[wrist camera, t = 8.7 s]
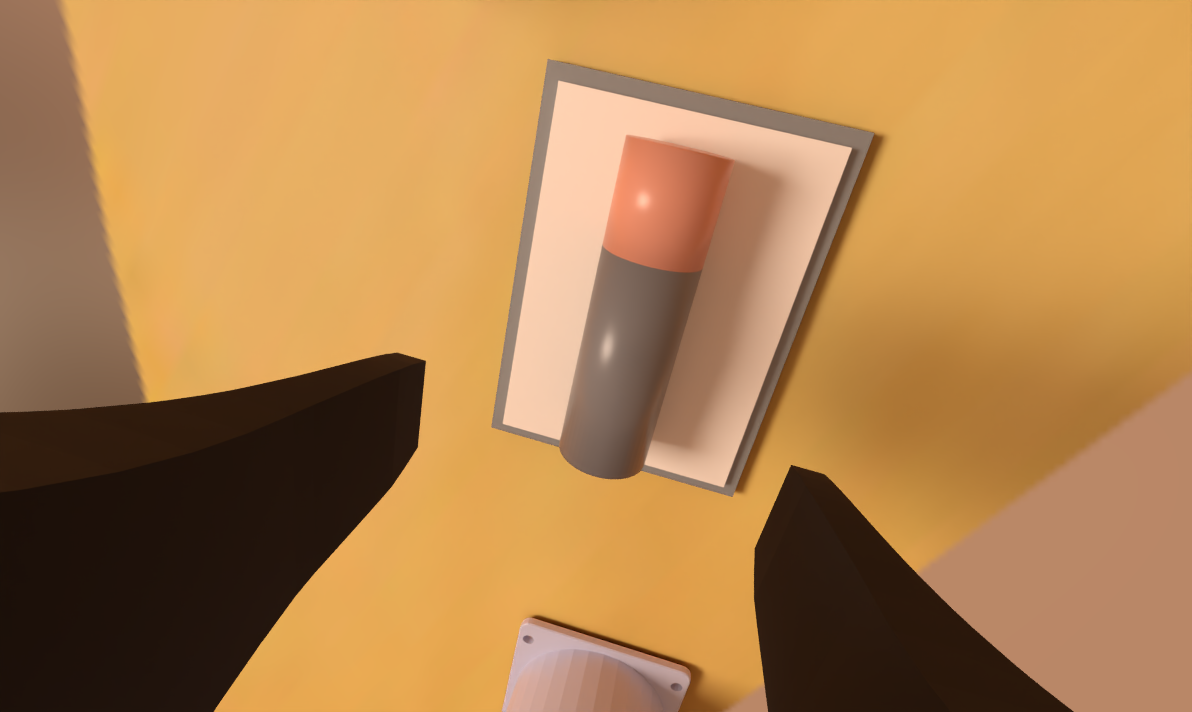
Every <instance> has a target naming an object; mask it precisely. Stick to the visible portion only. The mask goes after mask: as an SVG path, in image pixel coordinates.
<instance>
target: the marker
mask: <svg viewBox="0 0 1192 712" xmlns="http://www.w3.org/2000/svg"><path fill="white" fill-rule="evenodd" d="M734 162H735V160H733V159H731V158H728V157H724V156H721V155H717V154H714V153H710V152H706V151H702V150H698V149H694V148H690V147H686V146H682V145H678V144H673V143H669V142H664V141H660V140H655V139H650V138H645V137H640V136H634V135H626V138H625V142H624V147H623V152H622V156H621V161H620V165H619V170H618V175H617V179H616V184H615V189H614V193H613V198H612V202H611V207H610V212H609V216H608V221H607V226H606V230H605V235H604V239H603V244H602V249H601V253H600V258H599V262H598V267H597V272H596V276H595V281H594V286H593V290H592V295H591V299H590V304H589V309H588V313H587V318H586V323H585V327H584V332H583V336H582V341H581V346H580V350H579V355H578V359H577V364H576V369H575V373H574V378H573V383H572V387H571V392H570V396H569V401H568V406H567V410H566V415H565V420H564V424H563V429H562V433H561V438H560V443H559V448H560V451H561V454H562V455H563V457H564V458H565V459H566V460H567V462H569V463H570V464H571V465H572V466H574V467H575V468H577V469H578V470H580V471H582V472H584V473H586V474H589V475H592V476H595V477H599V478H605V479H624V478H628V477H631V476H634V475H636V474H637V473H639V472H640V471H641V470H642V468H643V467H644V464H645V461H646V457H647V454H648V451H649V447H650V444H651V441H652V437H653V434H654V430H655V427H656V424H657V420H658V417H659V414H660V410H661V407H662V404H663V400H664V397H665V394H666V390H667V387H668V384H669V380H670V377H671V373H672V370H673V367H674V363H675V360H676V357H677V353H678V350H679V347H680V343H681V340H682V337H683V333H684V330H685V327H686V323H687V320H688V317H689V313H690V310H691V306H692V303H693V300H694V296H695V293H696V290H697V286H698V283H699V280H700V276H701V273H702V270H703V266H704V263H705V260H706V256H707V253H708V249H709V246H710V243H711V239H712V236H713V233H714V229H715V226H716V223H717V219H718V216H719V213H720V209H721V206H722V203H723V199H724V196H725V193H726V189H727V186H728V182H729V179H730V176H731V172H732V169H733V166H734Z"/></svg>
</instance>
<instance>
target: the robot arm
mask: <svg viewBox="0 0 1192 712" xmlns="http://www.w3.org/2000/svg"><path fill="white" fill-rule="evenodd" d="M425 364H426V361H424V360H421V359H417V358H414V357H410V356H407V355H403V354H400V353H391V354H385V355H380V356H375V357H371V358H366V359H362V360H358V361H354V362H350V363H346V364H343V365H339V366H335V367H331V368H327V369H323V370H319V371H315V372H311V373H307V374H303V375H299V376H295V377H291V378H286V379H281V380H277V381H272V382H268V383H263V384H259V385H254V386H250V387H245V388H241V389H236V390H230V391H225V392H219V393H213V394H208V395H201V396H195V397H188V398H181V399H174V400H167V401H159V402H151V403H141V404H129V405H118V406H107V407H96V408H84V409H72V410H54V411H33V412H7V413H6V412H2V413H0V712H214V710H215V709H216V707H217V706H218V704H219V703H220V701H221V700H222V698H223V697H224V695H225V694H226V693H227V691H228V690H229V688H230V687H231V685H232V684H233V682H234V681H235V680H236V678H237V677H238V675H239V674H240V672H241V671H242V670H243V668H244V667H245V665H246V664H247V662H248V661H249V660H250V658H251V657H252V655H253V654H254V652H255V651H256V649H257V648H258V647H259V645H260V644H261V642H262V641H263V640H264V638H265V637H266V636H267V634H268V633H269V632H270V630H271V629H272V627H273V626H274V625H275V623H276V622H277V621H278V619H279V618H280V617H281V615H282V614H283V612H284V611H285V610H286V608H287V607H288V606H289V604H290V603H291V602H292V600H293V599H294V597H295V596H296V595H297V594H298V592H299V591H300V590H301V589H302V588H303V586H304V585H305V584H306V583H307V582H308V580H309V579H310V578H311V577H312V576H313V574H314V573H315V572H316V571H317V570H318V569H319V568H320V567H321V565H322V564H323V563H324V562H325V561H326V560H327V559H328V558H329V557H330V555H331V554H332V553H333V552H334V551H335V550H336V549H337V548H338V547H339V545H340V544H341V543H342V542H343V541H344V540H345V539H346V538H347V536H348V535H349V534H350V533H351V532H352V531H353V530H354V529H355V528H356V527H357V525H358V524H359V523H360V522H361V521H362V520H363V519H364V518H365V516H366V515H367V514H368V513H369V512H370V511H371V510H372V509H373V507H374V506H375V505H376V504H377V503H378V502H379V501H380V500H381V498H382V497H383V496H384V495H385V494H386V493H387V491H388V490H389V489H390V488H391V487H392V485H393V484H394V482H395V481H396V480H397V478H398V477H399V475H400V474H401V472H402V471H403V469H404V468H405V466H406V465H407V463H408V462H409V460H410V459H411V457H412V455H413V454H414V452H415V451H416V449H417V448H418V438H419V428H420V417H421V407H422V396H423V385H424V375H425ZM754 602H755V611H756V619H757V628H758V636H759V644H760V652H761V660H762V667H763V675H764V683H765V691H766V698H767V706H768V712H1073V711H1072V710H1071V709H1069V708H1068V707H1067V706H1065V705H1064V704H1063V703H1062V702H1060V701H1059V700H1058V699H1057V698H1055V697H1054V696H1053V695H1051V694H1050V693H1049V692H1048V691H1046V690H1045V689H1044V688H1042V687H1041V686H1040V685H1039V684H1038V683H1036V682H1035V681H1034V680H1033V679H1031V678H1030V677H1029V676H1028V675H1027V674H1025V673H1024V672H1023V671H1022V670H1021V669H1019V668H1018V667H1017V666H1016V665H1014V664H1013V663H1012V662H1011V661H1010V660H1009V659H1007V658H1006V657H1005V656H1004V655H1003V654H1002V653H1001V652H1000V651H998V650H997V649H996V648H995V647H994V646H993V645H992V644H990V643H989V642H988V641H987V640H986V639H985V638H983V636H981V635H980V634H979V633H978V632H977V631H976V630H975V629H973V628H972V627H971V626H970V625H969V624H968V623H967V622H966V621H965V620H964V619H963V618H961V617H960V616H959V615H958V614H957V613H956V612H955V611H954V610H953V609H952V608H951V607H950V606H949V605H948V604H947V603H946V602H945V601H944V600H943V599H941V597H940V596H939V595H938V594H937V593H935V591H934V590H933V589H932V588H931V587H930V586H929V585H928V584H927V583H926V582H924V581H923V579H922V578H921V577H920V576H919V575H918V574H917V573H916V572H915V571H914V570H913V569H912V568H911V567H910V566H909V565H908V564H907V563H906V562H905V561H904V560H903V559H902V558H901V556H900V555H899V554H898V553H897V552H896V551H895V550H894V549H893V548H892V547H891V546H890V545H889V544H888V542H887V541H886V540H885V539H884V538H883V537H882V536H881V535H880V534H879V533H878V531H877V530H876V529H875V528H874V527H873V526H872V525H871V524H870V523H869V521H868V520H867V519H866V518H865V517H864V516H863V515H862V514H861V512H860V511H859V510H858V509H857V508H856V507H855V506H854V505H853V503H852V502H851V501H850V500H849V499H848V498H847V497H846V496H845V495H844V494H843V492H842V491H841V490H840V489H839V488H838V487H837V486H836V485H835V484H834V483H833V482H832V481H831V480H830V479H829V478H828V477H827V476H826V475H824V474H821V473H818V472H814V471H811V470H807V469H804V468H800V467H797V466H793V465H791V467H790V469H789V471H788V474H787V476H786V478H785V480H784V483H783V485H782V487H781V490H780V492H779V494H778V496H777V499H776V501H775V503H774V506H773V508H772V510H771V512H770V515H769V517H768V519H767V522H766V524H765V526H764V528H763V531H762V533H761V535H760V538H759V540H758V542H757V545H756V547H755V560H754ZM690 681H691V673H690V670H689V669H688V668H686V667H685V666H682V665H679V664H676V663H673V662H670V661H667V660H664V659H660V658H657V657H654V656H651V655H648V654H645V653H642V652H638V651H635V650H632V649H629V648H626V647H623V646H620V645H616V644H613V643H610V642H607V641H604V640H601V639H598V638H594V637H591V636H588V635H585V634H582V633H579V632H576V631H572V630H569V629H566V628H563V627H560V626H557V625H554V624H550V623H547V622H544V621H541V620H538V619H535V618H526V619H524V620H523V622H522V624H521V627H520V630H519V635H518V639H517V644H516V649H515V653H514V658H513V663H512V667H511V672H510V676H509V681H508V686H507V690H506V695H505V699H504V704H503V709H502V712H678V710H679V708H680V706H681V703H682V701H683V699H684V696H685V694H686V692H687V689H688V687H689V685H690Z"/></svg>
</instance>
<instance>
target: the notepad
mask: <svg viewBox="0 0 1192 712" xmlns="http://www.w3.org/2000/svg"><path fill="white" fill-rule="evenodd" d="M626 135H634V136H640V137H645V138H650V139H655V140H660V141H664V142H669V143H673V144H678V145H682V146H686V147H690V148H694V149H698V150H702V151H706V152H710V153H714V154H717V155H721V156H724V157H728V158H731V159H733V160H735V162H734V166H733V169H732V172H731V176H730V179H729V182H728V186H727V189H726V193H725V196H724V199H723V203H722V206H721V209H720V213H719V216H718V219H717V223H716V226H715V229H714V233H713V236H712V239H711V243H710V246H709V249H708V253H707V256H706V260H705V263H704V266H703V270H702V273H701V276H700V280H699V283H698V286H697V290H696V293H695V296H694V300H693V303H692V306H691V310H690V313H689V317H688V320H687V323H686V327H685V330H684V333H683V337H682V340H681V343H680V347H679V350H678V353H677V357H676V360H675V363H674V367H673V370H672V373H671V377H670V380H669V384H668V387H667V390H666V394H665V397H664V400H663V404H662V407H661V410H660V414H659V417H658V420H657V424H656V427H655V430H654V434H653V437H652V441H651V444H650V447H649V451H648V454H647V457H646V461H645V464H644V467H643V468H642V470H641V471H644V472H648V473H651V474H655V475H658V476H662V477H665V478H669V479H672V480H675V481H679V482H682V483H686V484H689V485H693V486H696V487H700V488H703V489H707V490H710V491H713V492H717V493H720V494H724V495H727V496H731V497H733V494H734V492H735V489H736V487H737V484H738V482H739V479H740V476H741V474H742V471H743V469H744V466H745V464H746V461H747V459H748V456H749V453H750V451H751V448H752V446H753V443H754V441H755V438H756V435H757V433H758V430H759V428H760V425H761V423H762V420H763V418H764V415H765V412H766V410H767V407H768V405H769V402H770V400H771V397H772V395H773V392H774V389H775V387H776V384H777V382H778V379H779V377H780V374H781V371H782V369H783V366H784V364H785V361H786V359H787V356H788V354H789V351H790V348H791V346H792V343H793V341H794V338H795V336H796V333H797V331H798V328H799V325H800V323H801V320H802V318H803V315H804V313H805V310H806V307H807V305H808V302H809V300H810V297H811V295H812V292H813V290H814V287H815V284H816V282H817V279H818V277H819V274H820V272H821V269H822V267H823V264H824V261H825V259H826V256H827V254H828V251H829V249H830V246H831V243H832V241H833V238H834V236H835V233H836V231H837V228H838V226H839V223H840V220H841V218H842V215H843V213H844V210H845V208H846V205H847V203H848V200H849V197H850V195H851V192H852V190H853V187H854V185H855V182H856V179H857V177H858V174H859V172H860V169H861V167H862V164H863V162H864V159H865V156H866V154H867V151H868V149H869V146H870V144H871V141H872V138H873V136H874V133H872V132H868V131H863V130H859V129H854V128H850V127H846V126H841V125H837V124H832V123H828V122H823V121H819V120H815V119H810V118H806V117H801V116H797V115H793V114H788V113H784V112H779V111H775V110H770V109H766V108H762V107H757V106H753V105H748V104H744V103H740V102H735V101H731V100H726V99H722V98H717V97H713V96H709V95H704V94H700V93H695V92H691V91H687V90H682V89H678V88H673V87H669V86H664V85H660V84H656V83H651V82H647V81H642V80H638V79H634V78H629V77H625V76H620V75H616V74H611V73H607V72H603V71H598V70H594V69H589V68H585V67H581V66H576V65H572V64H567V63H563V62H558V61H554V60H550V59H548V61H547V68H546V75H545V81H544V88H543V94H542V101H541V107H540V114H539V120H538V127H537V133H536V140H535V146H534V153H533V159H532V166H531V172H530V179H529V185H528V192H527V198H526V205H525V211H524V218H523V224H522V231H521V238H520V244H519V251H518V257H517V264H516V270H515V277H514V283H513V290H512V296H511V303H510V309H509V316H508V322H507V329H506V335H505V342H504V348H503V355H502V361H501V368H500V374H499V381H498V388H497V394H496V401H495V407H494V414H493V420H492V428H496V429H499V430H502V431H506V432H509V433H513V434H516V435H520V436H523V437H527V438H530V439H534V440H537V441H541V442H544V443H547V444H551V445H554V446H558V447H559V443H560V438H561V433H562V429H563V424H564V420H565V415H566V410H567V406H568V401H569V396H570V392H571V387H572V383H573V378H574V373H575V369H576V364H577V359H578V355H579V350H580V346H581V341H582V336H583V332H584V327H585V323H586V318H587V313H588V309H589V304H590V299H591V295H592V290H593V286H594V281H595V276H596V272H597V267H598V262H599V258H600V253H601V249H602V244H603V239H604V235H605V230H606V226H607V221H608V216H609V212H610V207H611V202H612V198H613V193H614V189H615V184H616V179H617V175H618V170H619V165H620V161H621V156H622V152H623V147H624V142H625V138H626Z"/></svg>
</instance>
